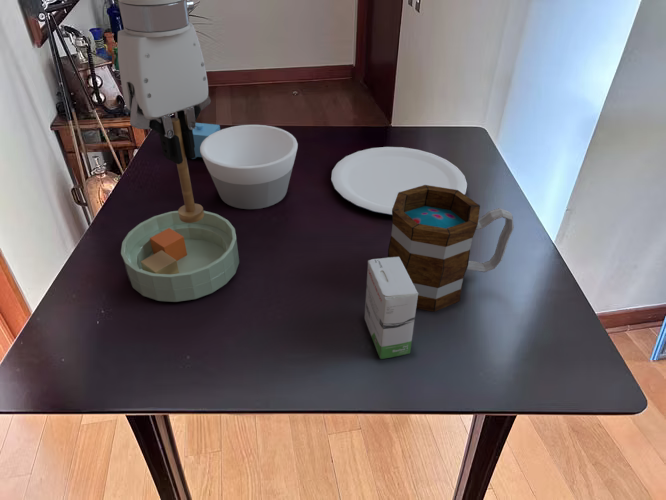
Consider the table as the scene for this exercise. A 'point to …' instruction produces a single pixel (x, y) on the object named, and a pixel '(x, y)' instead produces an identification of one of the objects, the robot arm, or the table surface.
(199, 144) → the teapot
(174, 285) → the stir bowl
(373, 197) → the plate
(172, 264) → the maple block
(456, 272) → the mug
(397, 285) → the ink box
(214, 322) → the table surface
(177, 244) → the orange block
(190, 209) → the stirrer
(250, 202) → the bowl
